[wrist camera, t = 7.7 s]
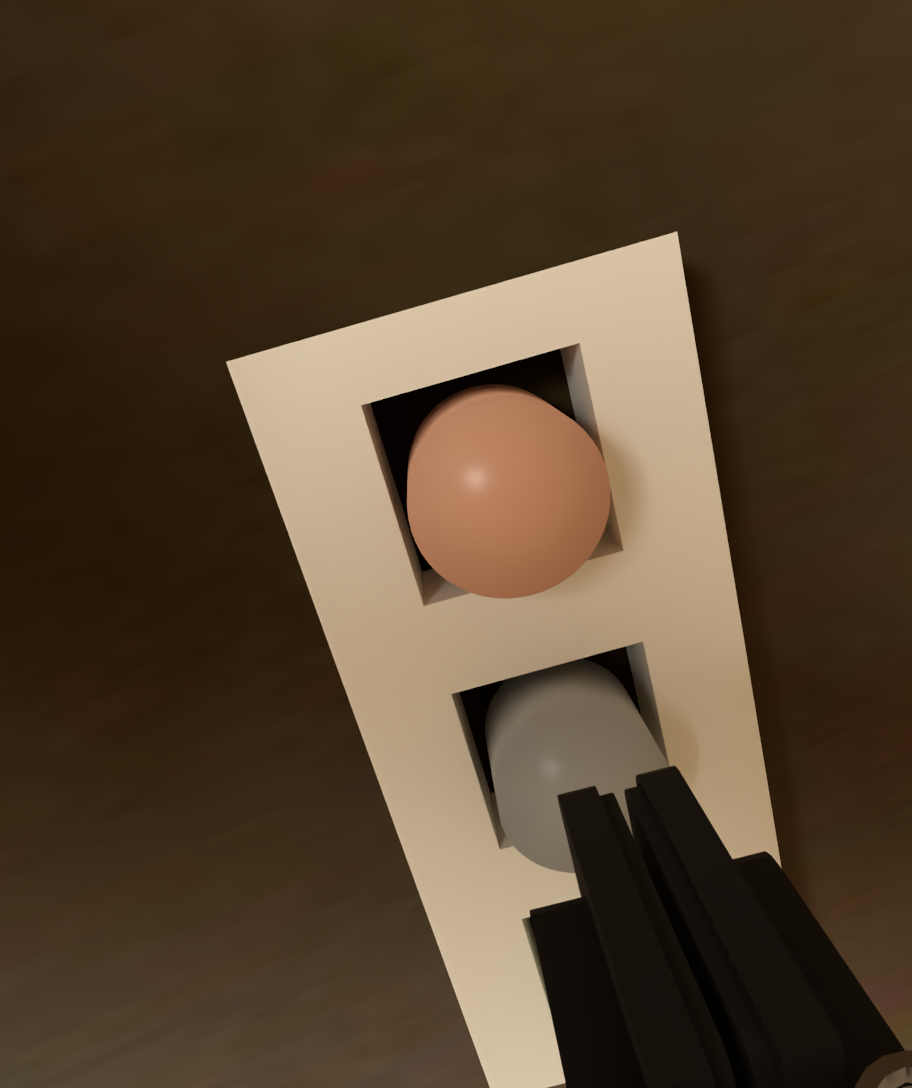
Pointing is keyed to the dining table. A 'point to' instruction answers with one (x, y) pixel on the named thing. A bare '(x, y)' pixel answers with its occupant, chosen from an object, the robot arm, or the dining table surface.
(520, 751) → the grey button
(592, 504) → the terracotta button
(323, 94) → the dining table surface
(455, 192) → the dining table surface
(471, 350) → the button panel
